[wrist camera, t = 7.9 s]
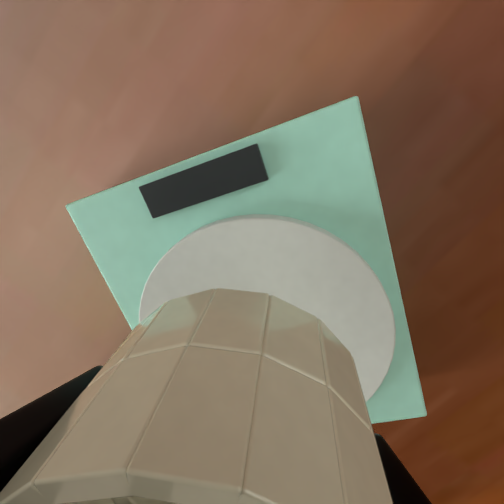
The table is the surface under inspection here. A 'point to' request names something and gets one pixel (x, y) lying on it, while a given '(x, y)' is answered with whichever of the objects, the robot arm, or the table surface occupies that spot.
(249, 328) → the beige cup
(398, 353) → the scale
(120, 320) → the table surface
